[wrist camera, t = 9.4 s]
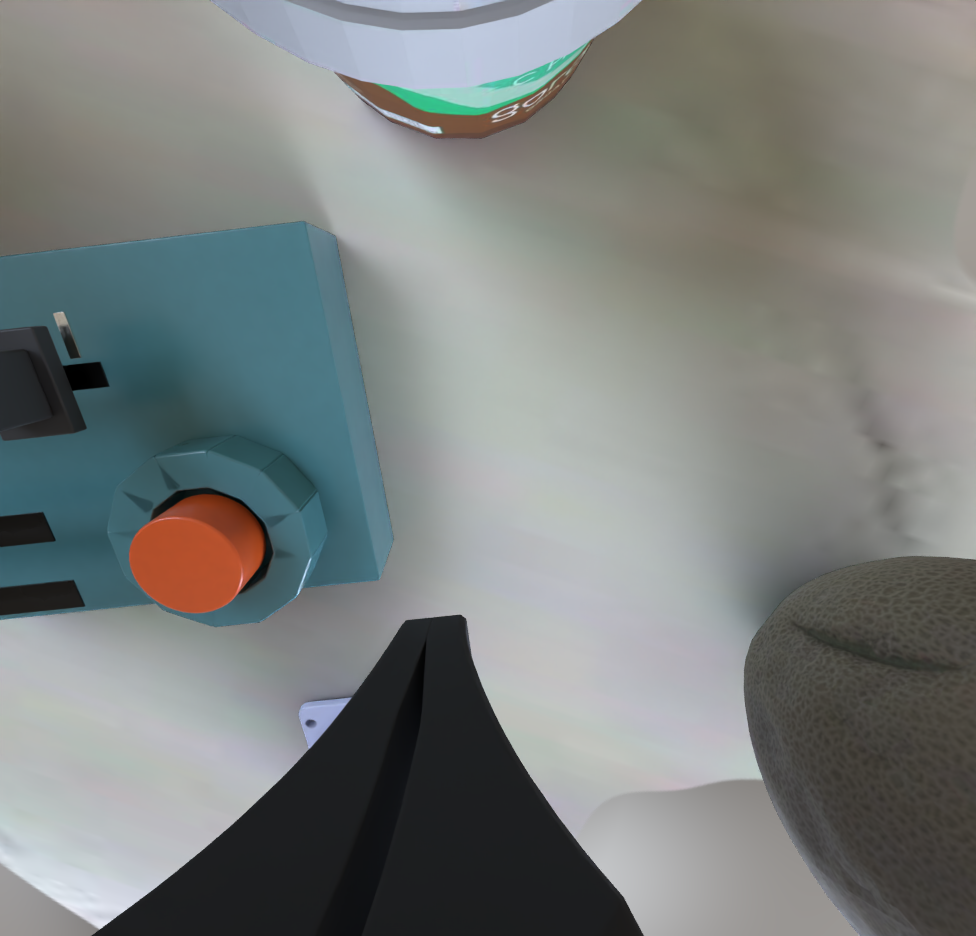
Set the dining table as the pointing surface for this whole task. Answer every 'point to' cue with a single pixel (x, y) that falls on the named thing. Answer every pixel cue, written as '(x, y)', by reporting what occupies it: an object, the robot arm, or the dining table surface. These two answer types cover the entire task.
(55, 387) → the slider
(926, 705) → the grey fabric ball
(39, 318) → the teal control box
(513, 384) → the dining table surface
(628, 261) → the dining table surface
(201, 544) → the button
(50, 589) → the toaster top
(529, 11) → the food container
